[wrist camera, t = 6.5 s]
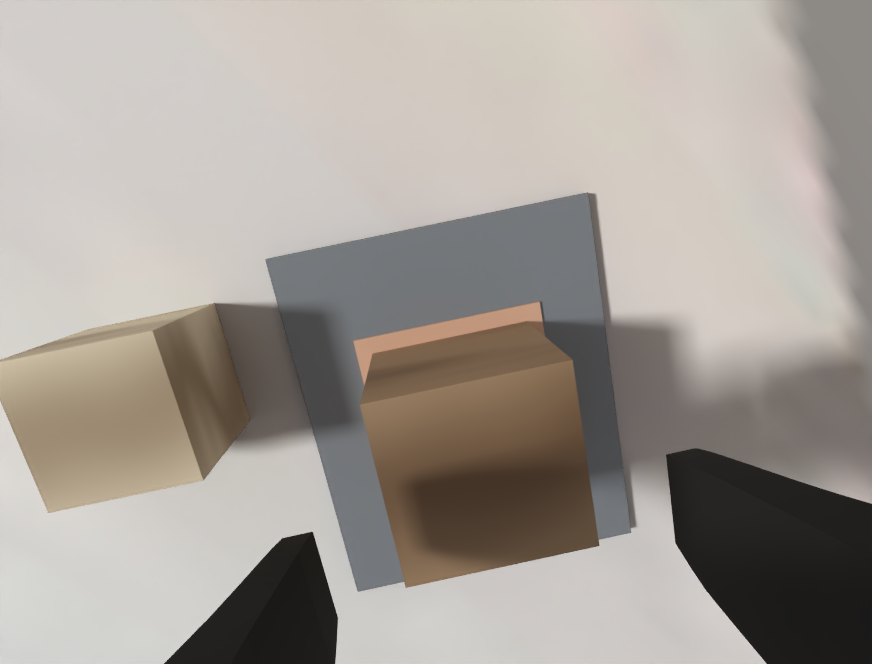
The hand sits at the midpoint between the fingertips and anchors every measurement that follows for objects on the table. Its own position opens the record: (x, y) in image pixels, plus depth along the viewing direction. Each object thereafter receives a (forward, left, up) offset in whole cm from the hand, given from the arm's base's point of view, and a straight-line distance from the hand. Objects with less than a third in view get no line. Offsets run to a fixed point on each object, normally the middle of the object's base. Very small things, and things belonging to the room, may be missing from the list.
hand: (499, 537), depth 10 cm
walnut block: (0, 0, -7) cm, 7 cm away
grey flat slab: (0, 0, -7) cm, 7 cm away
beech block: (+3, +9, -7) cm, 12 cm away
